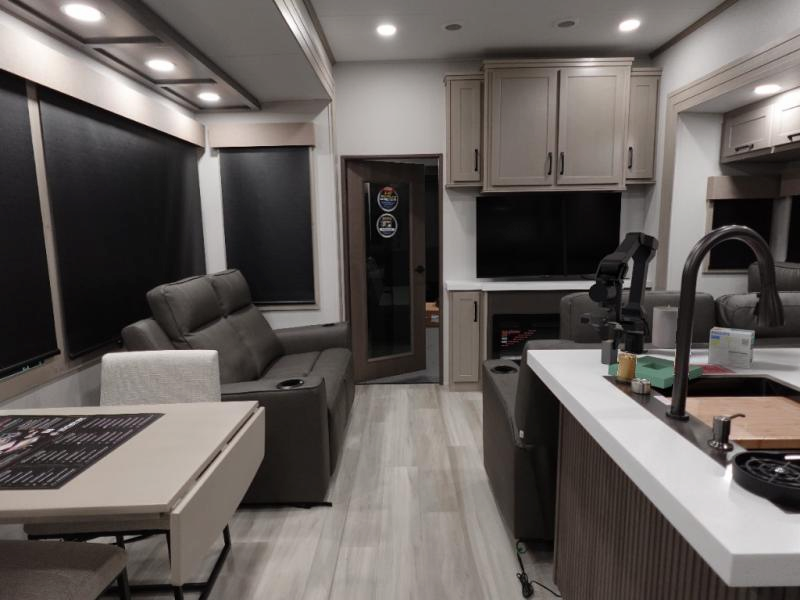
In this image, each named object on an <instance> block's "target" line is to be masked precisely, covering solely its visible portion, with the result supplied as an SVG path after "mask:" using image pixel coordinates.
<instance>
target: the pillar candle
mask: <svg viewBox="0 0 800 600" xmlns="http://www.w3.org/2000/svg"><path fill="white" fill-rule="evenodd" d="M678 307H679V306H678ZM678 307H677V306H671V305H670V304H668V306H667V305H665V306H663V305H662V306H654V307H653V308H652V309H653V312H652V313H653V314H652V330H651V345H652V346H653V347H654V348H655V347H656V348H660V349H672V350H676V349H675V342H676V331H677V318H678Z"/></svg>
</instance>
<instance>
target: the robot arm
mask: <svg viewBox="0 0 800 600" xmlns="http://www.w3.org/2000/svg"><path fill="white" fill-rule="evenodd" d="M659 243H660V242H659V240H658V239H657V238H656V237H655V236H653V235H650V234H647V233H645V232H642V231H629V232H626V234H625V236H624V238H623V240H622V241H621V243H620V244H619V245H618V247H617V248H616V250H615V251H614V252H613V253H611V254H607V255H606V256H605V257H603V259H601V260H600V262H599V264H598V267H597V269H596V272H595V275H594V278H593V281H594V282H595V283H594V284H592V285H591V286H590V287H589V289H588V297H589V298H590V300H591V301H592V302H594V303H598V307H597V308H595V309H594V310H593V311H591V312H587V313H586V312H585V313H582V314H581V315H580V317H579V323H580V324H586V325H587V324H590V326H591V328H594V329H595V330H596V331H597V333H598V335H599V338H600V341H601V343H602V341H605V340H609V336H610V335H609V334H610V328H611V325H613V326H615V328H611V331H612V333H613V338H612V340H613V350H616V349H617V347H618V348H619V345H620V343H621V341H622V340H623V338H624V347H623V348H620V349H619V350H620V352H624V351H627V352H626V353H630V354H634V355H639V354H644V353H647V352H649V350H648V349H645V337H650V336H651V334H652V326H651V324H650V321H649V319H648V313H647V310H646V308H645V305H644V304H645V295H646V289H647V288H646V287H647V282H648V281H647V280H648V273H649V271H648V270H649V265H650V263H651V262H652V261H653V260H654V259H655V257H656V255H657V250H658V249H659V247H660V246H659ZM631 259H632V260H633V264H632V272H631V279H630V285H629V291H628V292H629V293H628V300H627V304H626V305H625V301H624V302H623V290H624V289H623V288H624V284H625V278H626V277H627V274H628V273H629V269H630V266H629V261H630V260H631Z"/></svg>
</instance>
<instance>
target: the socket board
mask: <svg viewBox="0 0 800 600" xmlns="http://www.w3.org/2000/svg"><path fill="white" fill-rule="evenodd" d="M674 361H675V360H672V359H671V360H670V359H666V358H660V357H656V356H651V355H645V356H641V357H638V358H637V364H636V371H635V377H636V378H643V379H647V380H649V381H650V383H651V385H650V386H652V387H656V388H660V389H667V388H669V387H673V386H672V384H673V374H674ZM618 363H619V362H617V363H615V364H611V365H608V366H607V367H608V368H607V369H608V371H607V372H608V373H607V374H608V375H609V374H610V375H609V376H613V375H615V376H614V377H617V376H616V375H617V371H618ZM689 364H690V366H689V380H688V381H690V380H693V379H696V378H699V377H700V376H699V375H702V376H703V371H704V370H703V369H704V368H703V366H700V365H694V364H691V363H689ZM698 376H699V377H698Z"/></svg>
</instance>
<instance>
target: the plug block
mask: <svg viewBox="0 0 800 600" xmlns="http://www.w3.org/2000/svg"><path fill="white" fill-rule="evenodd" d="M600 354H601V356H600V357H601V359H600V363H601V362H602V363H601V364H604V363H606V364H605V365H608V364H609V365H608V366H610V365H613V364H614V363H615V364H617V363H618V362H617V358H618V359H619V346H618V347H617V349H616V350H613V339H609V338H608V340H605V341H602V342H601V353H600Z"/></svg>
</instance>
